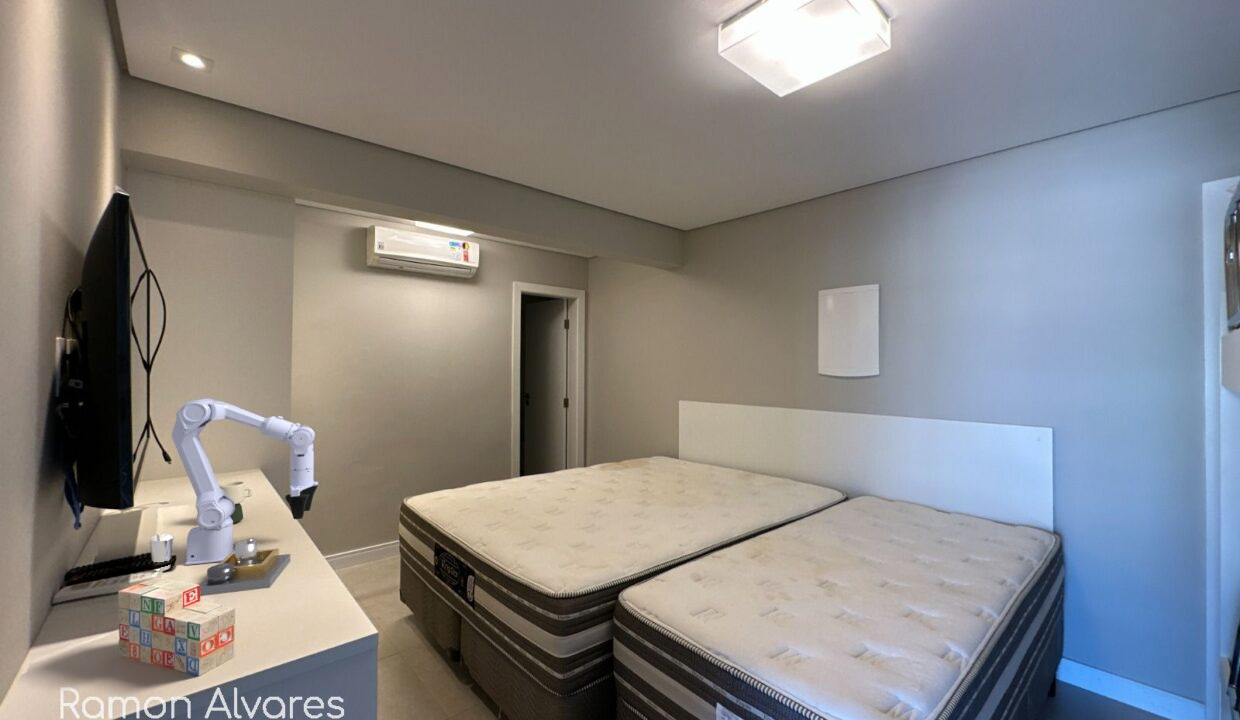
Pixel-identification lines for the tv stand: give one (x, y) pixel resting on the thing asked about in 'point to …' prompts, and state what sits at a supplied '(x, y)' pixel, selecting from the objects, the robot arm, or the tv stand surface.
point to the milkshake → (161, 548)
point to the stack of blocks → (174, 626)
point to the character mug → (236, 497)
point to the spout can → (246, 552)
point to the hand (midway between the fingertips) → (301, 514)
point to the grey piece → (245, 573)
